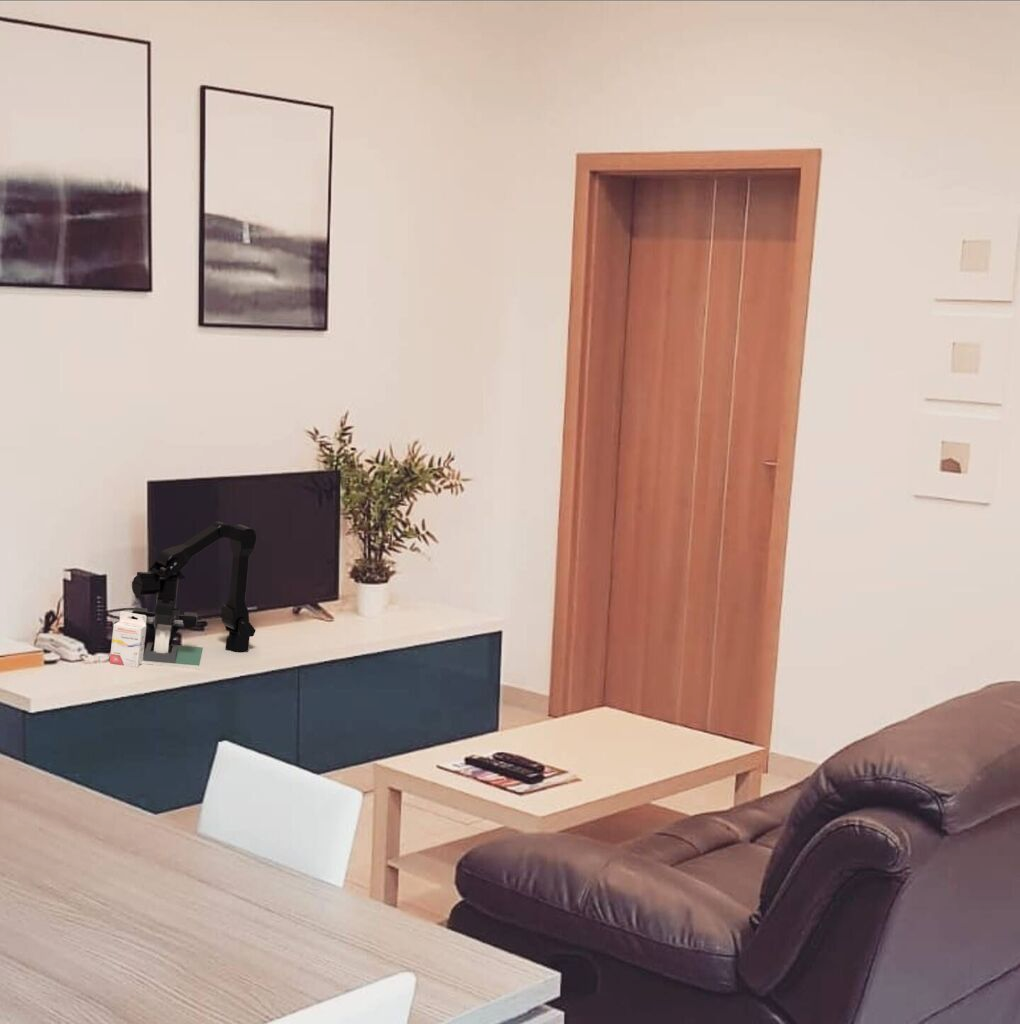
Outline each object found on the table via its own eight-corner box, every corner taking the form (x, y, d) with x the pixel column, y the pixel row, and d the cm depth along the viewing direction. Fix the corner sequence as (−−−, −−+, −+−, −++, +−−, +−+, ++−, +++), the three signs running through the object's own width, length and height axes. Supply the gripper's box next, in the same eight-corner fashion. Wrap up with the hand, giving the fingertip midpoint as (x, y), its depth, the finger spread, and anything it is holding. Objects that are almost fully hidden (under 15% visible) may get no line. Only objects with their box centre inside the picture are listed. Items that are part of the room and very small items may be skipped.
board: (202, 650, 468) (203, 639, 467) (198, 668, 449) (200, 657, 448) (149, 646, 465) (150, 634, 465) (143, 664, 446) (144, 652, 445)
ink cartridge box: (108, 663, 442) (113, 614, 440) (114, 659, 447) (119, 610, 445) (137, 668, 441) (142, 618, 439) (143, 663, 446) (148, 614, 444)
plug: (169, 648, 455) (171, 625, 454) (167, 654, 449) (169, 631, 447) (155, 646, 455) (157, 624, 454) (153, 653, 448) (155, 630, 447)
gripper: (131, 597, 440) (126, 649, 442) (197, 603, 443) (192, 655, 446) (135, 588, 451) (130, 639, 453) (199, 594, 454) (194, 645, 456)
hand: (162, 645), depth 452 cm, fingers open, 4 cm apart
